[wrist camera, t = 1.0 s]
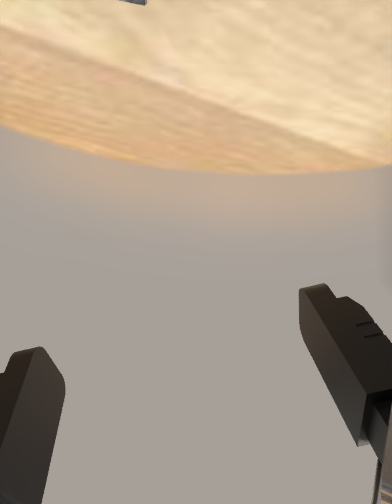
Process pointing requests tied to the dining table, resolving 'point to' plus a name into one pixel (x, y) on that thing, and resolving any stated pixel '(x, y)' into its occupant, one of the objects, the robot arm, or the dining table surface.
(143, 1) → the lane
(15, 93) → the dining table surface
